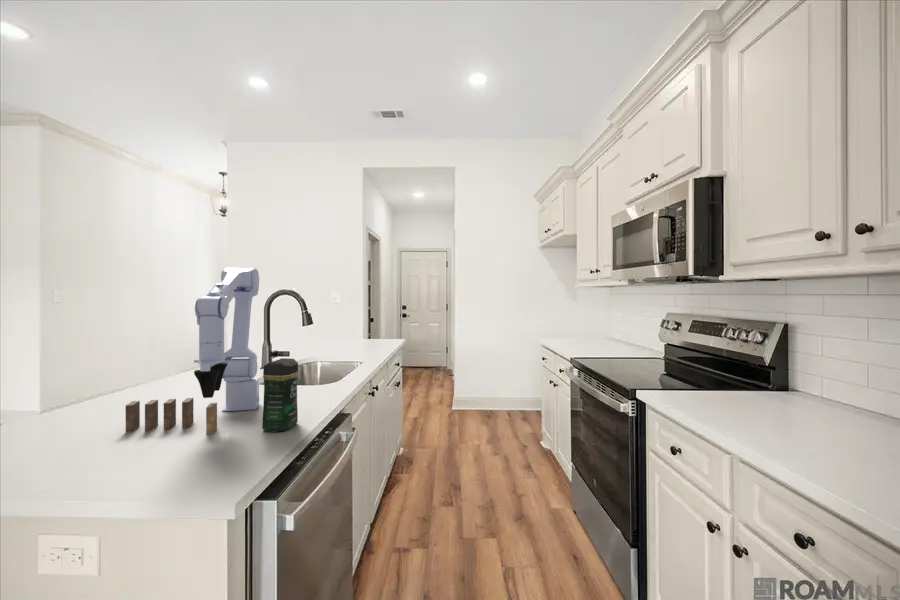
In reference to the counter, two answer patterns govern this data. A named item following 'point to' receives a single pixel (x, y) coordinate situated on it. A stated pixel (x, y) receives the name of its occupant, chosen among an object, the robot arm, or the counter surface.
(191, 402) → the tile
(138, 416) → the wood grain rectangular block
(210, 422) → the tile
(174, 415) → the brown rectangular block
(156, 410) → the brown rectangular block
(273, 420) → the coffee jar
